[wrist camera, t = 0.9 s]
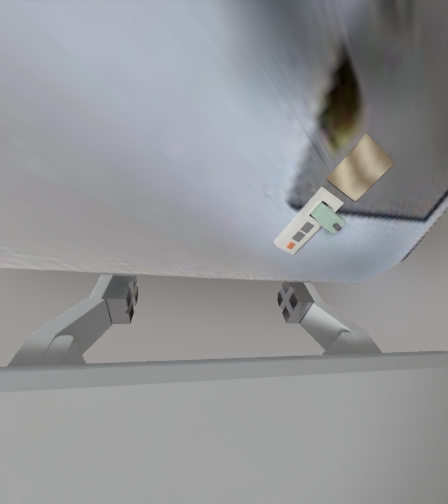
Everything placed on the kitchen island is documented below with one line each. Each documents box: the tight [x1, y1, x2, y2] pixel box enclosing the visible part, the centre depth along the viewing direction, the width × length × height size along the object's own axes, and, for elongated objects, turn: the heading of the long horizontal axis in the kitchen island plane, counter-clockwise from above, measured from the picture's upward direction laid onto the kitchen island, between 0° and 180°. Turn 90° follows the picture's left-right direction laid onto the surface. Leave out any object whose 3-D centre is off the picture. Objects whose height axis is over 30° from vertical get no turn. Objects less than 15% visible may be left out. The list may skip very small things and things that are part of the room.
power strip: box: [274, 187, 344, 255], centre depth 59 cm, size 20×7×4 cm, turn 148°
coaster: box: [327, 134, 395, 202], centre depth 52 cm, size 12×12×1 cm
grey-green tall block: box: [311, 202, 347, 234], centre depth 53 cm, size 4×4×12 cm
